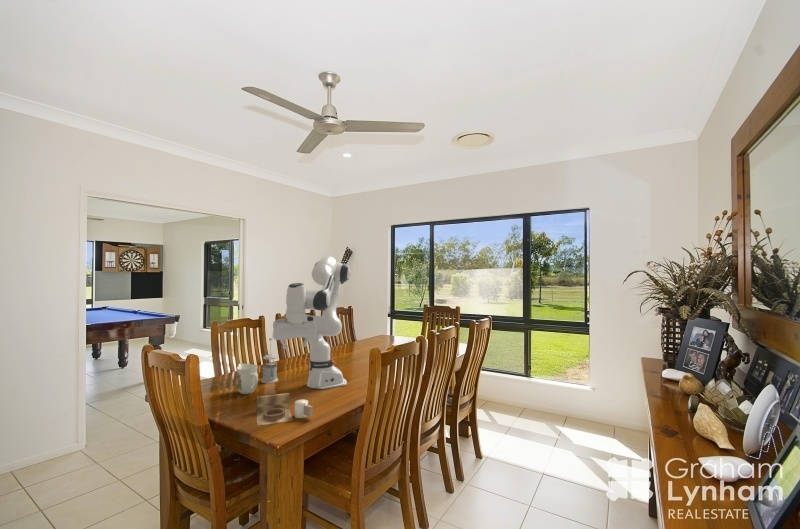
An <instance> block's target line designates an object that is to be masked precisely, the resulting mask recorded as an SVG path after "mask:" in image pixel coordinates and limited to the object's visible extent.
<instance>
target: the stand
mask: <svg viewBox="0 0 800 529" xmlns="http://www.w3.org/2000/svg"><path fill="white" fill-rule="evenodd" d="M291 421H293V417H292V413H291V410H290V392H286V393H278V394H277V393H276V394H269V395H260V396H256V426H258V427H259V426H264V425H270V424H279V423H285V422H291Z"/></svg>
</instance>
